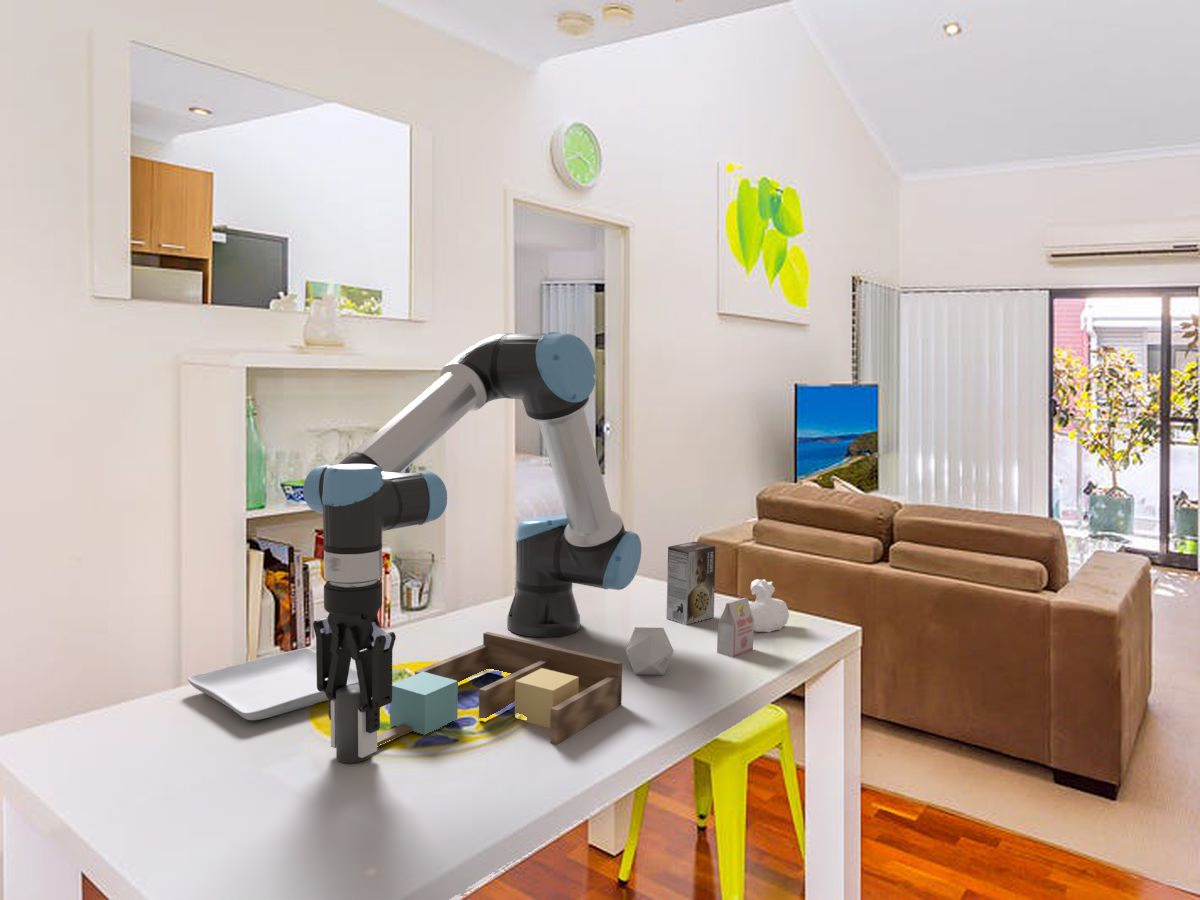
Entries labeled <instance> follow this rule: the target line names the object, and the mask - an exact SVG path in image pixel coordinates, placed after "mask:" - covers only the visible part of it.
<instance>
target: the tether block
mask: <svg viewBox="0 0 1200 900" xmlns="http://www.w3.org/2000/svg"><path fill="white" fill-rule="evenodd" d="M458 691H459V687H458V681H456V680H452V679H449V678H445V677H441V676H438V675H434V674H430V673H427V672H421V673H419V674H416V675H415V674H413V675H412V676H409V677H406V678H404V679H401V680H398V681H397V682H394V683H392V702H391V703H389V725H391V726H395V727H393V728H390V729H389V730H386V731H384V732H381V733H380V734H377V746H379V745H380V744H383V743H385V742H387V741H389V740H392V739H394V738H397V737H399V736H401V737H403V736H405V735H407V734H409V733H411V732H412V731H414V732H413V733H415V732H418V733H421V734H427V733H429V732H431V733H433V732H435V731H437V730H439V729H441V728H443V727H442V726H444V725H446V726H448V725H449V724H448V723H450V722H452V721H454V722H456V721H457V720H456V719H458V714H459V713H458V712H459V711H458V710H459V709H458V706H459V705H458V704H459V701H458V698H459V692H458ZM360 707H362V700H361V694H360V688H359V685H348V686H344V687H341V688H339V689H338V690H337V691H336V748H335V751H336V759H337V760H338V761H340V762H341V763H342V762H343V763H358V762H362V761H363V762H364V761H366V760H367V759H369V758H370V757H371V756H372V754H370V755H367V756H365V757H363V758H360V757H358V708H360ZM455 720H456V721H455ZM452 723H453V722H452ZM447 724H448V725H447ZM450 724H451V723H450ZM440 727H441V728H440ZM444 727H445V726H444ZM436 729H437V730H436ZM434 730H435V731H434ZM410 731H411V732H410ZM432 731H433V732H432ZM408 732H409V733H408ZM406 733H407V734H406ZM418 733H417V734H418ZM404 734H405V735H404ZM421 734H420V735H421ZM429 734H430V733H429ZM402 735H403V736H402ZM427 735H428V734H427ZM399 738H400V737H399ZM397 739H398V738H397ZM392 741H393V740H392Z"/></svg>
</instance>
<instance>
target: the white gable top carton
mask: <svg viewBox="0 0 1200 900" xmlns="http://www.w3.org/2000/svg"><path fill="white" fill-rule="evenodd" d="M749 605H750V603H749V598H748V597H743V598H740V599H736V600H733V601H729V602H727V603H726V604H725V607H724V609H723V612H722V614H721V615H720V618H719V620H718V622H717V641H716V642H717V643H716V653H717V654H720V655H724V656H727V657H731V658H734V657H737V656H740V655H743V654H746V653H748V652H750V651H752V649H753V650H754V632H755V630H754V618H753V615H752V612H751V609H750V606H749ZM747 651H748V652H747ZM742 653H743V654H742Z"/></svg>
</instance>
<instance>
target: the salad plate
mask: <svg viewBox="0 0 1200 900" xmlns="http://www.w3.org/2000/svg"><path fill="white" fill-rule="evenodd" d="M325 680H328V678H326V679H325ZM187 681H188V683H189V684H190V685H191V686H192V687H193V688H195V689H196V690H198V691H200V692H201V693H203V694H205V695H207V696H209V697H210V698H212V699H214V700H216V701H217V702H219V703H222V705H224V706H226V707H227V708H229V709H230V710H232V711H233V712H235V713H236V714H237V715H238V716H240V717H241V718H243V719H245V720H248V721H260V720H265V719H268V718H272V717H276V716H279V715H283V714H287V713H289V712H293V711H296V710H300V709H303V708H306V707H310V706H313V705H316V704H315V703H317V704H319V703H318V702H320V703H322V702H321V701H324V702H326V701H325V700H327V701H329V700H328V698H327V697H326V693H325V692H324V691H321V692H320V691H318V689H317V664H316V650H313V649H311V648H309V647H303V648H298V649H294V650H289V651H286V652H281V653H277V654H273V655H270V656H269V655H268V656H267V657H266V656H265V657H261V658H256V659H253V660H249V661H245V662H241V663H237V664H234V665H230V666H225V667H223V668H222V667H221V668H219V669H213V670H210V671H206V672H203V673H199V674H196V675H191V676H188V678H187ZM348 685H359V682H358V676H357V670H356V669H354V668H352V667H350V668H349V673H348V679H347V685H346V686H348Z"/></svg>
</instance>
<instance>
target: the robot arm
mask: <svg viewBox="0 0 1200 900" xmlns="http://www.w3.org/2000/svg"><path fill="white" fill-rule="evenodd" d="M596 371H597V370H596V363H595V361H594V356H593V354H592V352H591V350H590V349H589V346H588V345H587V344H586V342H585V341H584V340H582V339H581V338H580V337H579V336H576V335H574V334H573V333H572V334H571V333H561V332H555V331H549V332H541V333H540V332H539V333H538V332H537V333H535V332H534V333H531V332H530V333H512V332H510V333H501V334H500V333H499V334H495V335H492V336H489V337H486V338H485V339H483V340H481V341H478V342H477V343H476V344H474V345H472V346H470V347H469V348H467V349H466V350H464V351H463V352H461V353H459V354H458V355H456V356H455V357H454V358H453V359H452V360H450V361H449V362H448V363H447V364H446V365H444V366H443V368H442V369H441V371H440V375H439V378H438V379H437V380H436V381H435V382H434V383H432V384H431V385H430V386H429V387H427V389H426V390H424V391H423V392H422V393H420V394H419V395H418V396H417V397H416V398H415V399H414V400H412V401H411V402H410V403H409V404H407V405H406V406H405V408H403V409H402V410H400V412H398V413H397V414H396V415H395V416H393V417H392V418H391V419H390V420H389V421H388V422H386V423H385V424H384V425H382V426H381V428H380V429H378V430H377V431H376V432H375V433H374V434H372V435H371V436H370V437H368V438H367V439H366V441H364V442H363V443H362V444H361V445H359V446H358V447H357V448H356V449H354V450H353V451H352V452H351V453H350V454H348V455H347V456H346V457H345V458H344V459H342V460H341V461H340V462H339V463H337V464H332V463H330V464H325V465H324V464H323V465H322V464H321V465H318V466H316V467H314V468H312V469H311V471H309V472H308V473H307V475H306V477H305V479H304V482H303V486H302V488H303V489H302V491H303V492H302V493H303V494H302V495H303V498H304V501H305V503H306V505H307V506H308V508H309V509H311V511H313V512H316V513H318V514H322V526H323V527H322V529H323V531H322V533H323V578H324V579H325V581H327V582H325V583H324V585H323V608H324V611H326V612H327V613H328V615H327V617H322V618H320V619H317V620H314V621H313V622H312V626H313V630H314V631H313V632H314V635H315V642H316V643H315V644H316V645H315V649H316V650H315V651H316V664H317V689H318V691H320V692H321V691H324V692H325V693H326V697H327V698H328V699H329V700H328V717H329V720H330V748H333V749H336V691H337V690H338V689H339V688H341V687H344V686H346V685H347V679H348V673H349V668H351V662H352V661H351V660H353V661H354V662H355V670H356V671H357V676H358V682H359V688H360V694H361V700H362V707H360V708H358V757H360V758H363V757H365V756H367V755H370V754H371V755H372V754H373V753H375V752H378V748H377V735H378V731H379V730H380V728H381V727H380V726H381V708H382V707H384V706H387V705H390V703H391V702H392V684H393V648H394V645H395V641H396V638H397V637H396V634H395V632H393V631H389V632H386V631H384V629H382V628H381V623H380V621H379V616H378V614H379V610H380V609H381V607H382V605H383V582H382V581H381V580H380V579H381V577H383V532H386V531H390V530H394V529H401V528H406V527H411V526H423V525H424V524H426V523H430V522H433V521H436V520H438V519H439V518H440V517H441V516H442V515H443V514H444V512H445V510H446V509H447V506H448V505H447V504H448V489H447V487H446V484H445V482H444V481H443V480H442V478H441V477H440V476H439V475H438V474H436V473H434V472H431V471H418V470H415V471H412V472H404V471H405V470H407V469H408V468H409V467H410V466H411V465H412V464H413V463H414V462H415V461H416V460H417V459H419V458H420V457H421V456H422V455H423V454H424V453H426V452H427V450H428V449H429V448H431V447H432V446H433V445H434V444H435V443H436V442H438V440H439V439H440V438H442V437H443V436H444V435H445V433H447V432H448V431H449V430H450V429H451V428H452V427H454V425H456V423H458V422H459V421H460V420H461V419H462V418H463V417H465V416H466V414H468V413H469V412H470V411H471V412H473V411H474V412H475V411H478V410H480V409H482V408H483V407H484V406H485V405H487V403H489V402H491V401H495V400H499V399H511V400H513V399H514V400H521V401H522V404H523V406H524V407H523V408H524V410H525V413H526V416H527V417H528V418H529V419H530V420H533V421H535V422H537V423H538V426H539V430H540V432H541V437H542V440H543V443H544V446H545V449H546V452H547V457H548V460H549V462H550V465H551V469H552V472H553V475H554V479H555V482H556V486H557V489H558V492H559V494H560V498H561V502H562V506H563V509H564V512H565V514H564V515H563V514H559V515H547V516H538V517H532V518H527V519H524V520H522V521H521V522H519V523H518V525H517V533H516V540H515V543H516V561H515V562H516V573H515V574H516V575H515V576H516V579H515V580H516V582H515V583H516V585H515V587H516V588H515V593H514V596H513V599H512V602H511V605H510V607H509V610H508V614H507V620H506V621H507V624H506V625H507V629H508V630H509V631H511V632H512V633H513V634H517V635H520V636H524V637H532V638H533V637H534V638H554V637H562V636H567V635H568V636H569V635H571V634H573V633H575V632H578V631H579V629H580V628H581V615H580V613H579V609H578V606H577V603H576V598H575V595H574V591H573V584H576V585H581V586H582V585H583V586H588V587H594V588H599V589H604V590H615V591H616V590H617V591H620V590H624V589H625V588H627V587H628V586H629V585H630V584H631V583H632V582H633V580H634V578H635V576H636V574H637V572H638V569H639V566H640V562H641V558H642V557H641V556H642V542H641V538H640V536H639V535H638V534H637V533H635V532H633V531H632V530H628V531H627V530H626V529H625V526H624V522H623V519H622V517H621V515H620V514H619V513H617V512H616V511H614V510H612V507H611V504H610V501H609V496H608V493H607V488H606V486H605V485H606V484H605V481H604V477H603V474H602V471H601V468H600V464H599V461H598V457H597V452H596V449H595V445H594V442H593V439H592V435H591V431H590V428H589V423H588V419H587V417H586V416H587V415H586V411H585V408H586V406H587V405H588V404H589V401H590V395H591V394H592V392H593V390H594V388H595V384H596V378H595V375H596ZM326 678H328V680H325V679H326Z"/></svg>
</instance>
